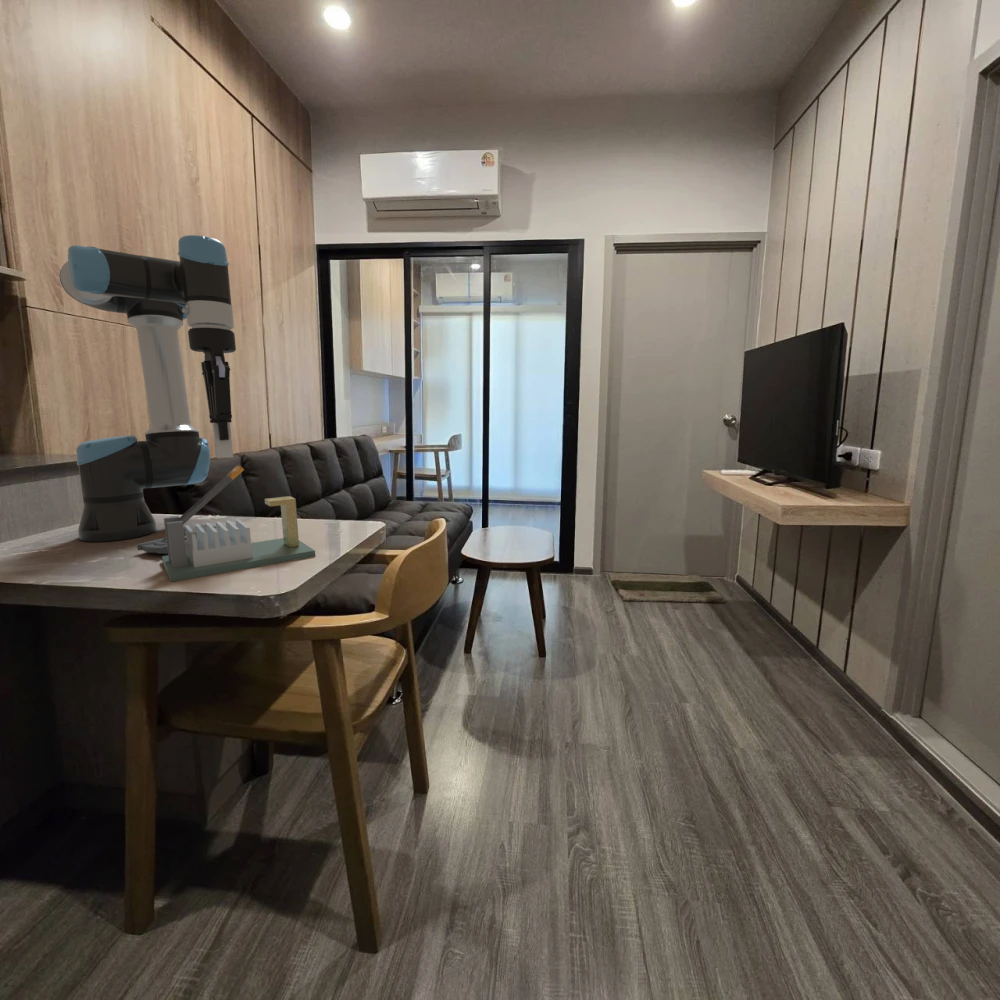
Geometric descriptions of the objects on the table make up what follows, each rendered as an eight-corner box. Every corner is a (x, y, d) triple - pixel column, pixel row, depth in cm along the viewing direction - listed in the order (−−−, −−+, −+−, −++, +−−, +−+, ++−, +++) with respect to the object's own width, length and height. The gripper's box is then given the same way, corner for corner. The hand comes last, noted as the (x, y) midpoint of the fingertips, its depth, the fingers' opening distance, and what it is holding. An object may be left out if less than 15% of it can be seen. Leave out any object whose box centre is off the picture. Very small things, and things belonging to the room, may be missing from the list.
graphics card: (203, 523, 123) (236, 527, 118) (205, 538, 124) (238, 543, 118) (126, 540, 108) (159, 545, 103) (128, 557, 109) (162, 563, 104)
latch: (268, 545, 108) (264, 498, 107) (293, 542, 111) (289, 496, 110) (273, 549, 105) (269, 501, 104) (299, 545, 108) (295, 498, 107)
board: (162, 562, 102) (156, 514, 100) (293, 541, 117) (290, 500, 115) (170, 581, 90) (164, 528, 88) (315, 556, 105) (312, 510, 103)
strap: (173, 531, 97) (166, 526, 96) (241, 469, 103) (236, 464, 102) (175, 534, 95) (168, 529, 94) (245, 470, 100) (239, 465, 100)
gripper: (183, 332, 98) (197, 456, 102) (192, 322, 88) (208, 460, 92) (227, 335, 103) (239, 454, 106) (241, 325, 92) (253, 458, 96)
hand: (224, 457), depth 99 cm, fingers closed
